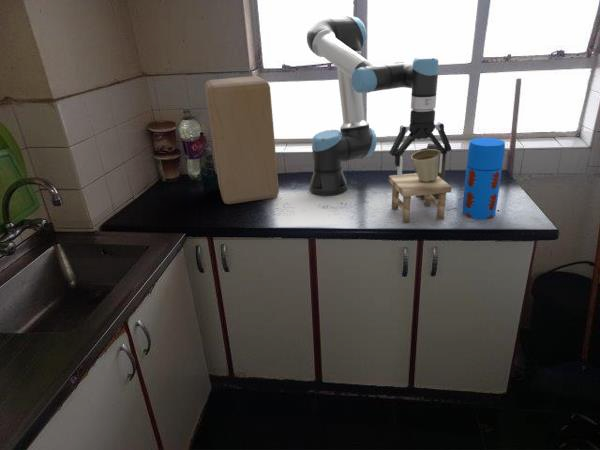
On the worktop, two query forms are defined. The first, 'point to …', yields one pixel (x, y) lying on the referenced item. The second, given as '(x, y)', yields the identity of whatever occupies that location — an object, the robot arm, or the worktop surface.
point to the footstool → (418, 193)
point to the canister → (441, 175)
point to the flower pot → (426, 164)
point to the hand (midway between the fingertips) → (419, 173)
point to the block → (243, 138)
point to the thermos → (483, 177)
